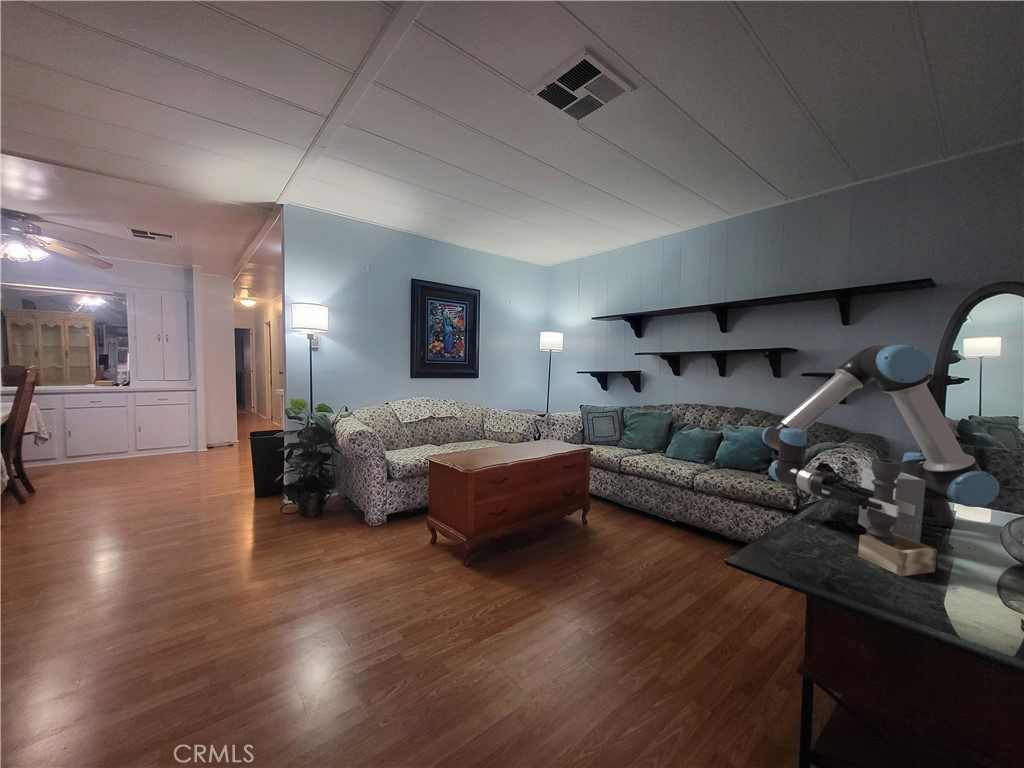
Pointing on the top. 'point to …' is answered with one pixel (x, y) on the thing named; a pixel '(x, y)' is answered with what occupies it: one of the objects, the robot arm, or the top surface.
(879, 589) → the top surface
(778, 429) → the robot arm
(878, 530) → the candle holder
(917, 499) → the hard drive box
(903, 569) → the birch crate
